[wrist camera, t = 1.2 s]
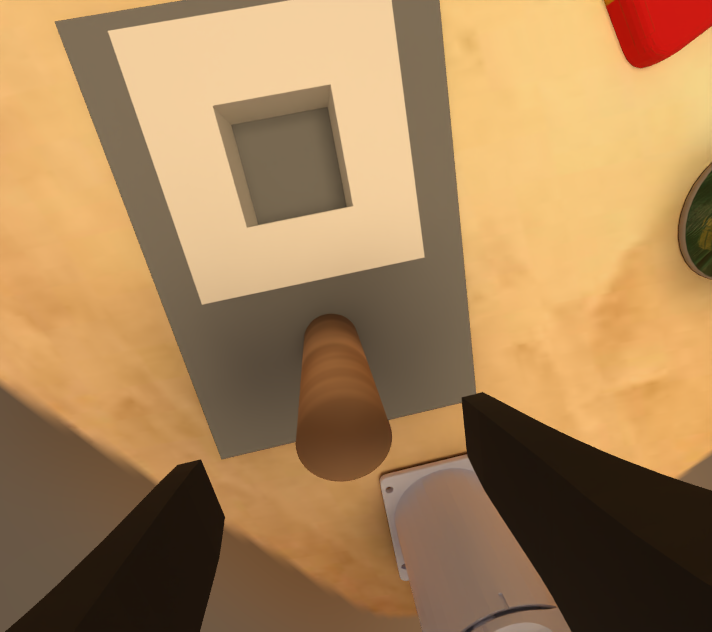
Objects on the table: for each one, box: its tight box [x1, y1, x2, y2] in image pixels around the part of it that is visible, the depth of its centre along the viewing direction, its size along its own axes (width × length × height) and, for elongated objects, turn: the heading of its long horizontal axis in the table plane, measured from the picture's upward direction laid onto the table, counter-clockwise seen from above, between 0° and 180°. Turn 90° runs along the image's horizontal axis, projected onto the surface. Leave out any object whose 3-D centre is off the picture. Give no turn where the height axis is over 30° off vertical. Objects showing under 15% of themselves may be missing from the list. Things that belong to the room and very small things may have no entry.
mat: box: [55, 0, 476, 459], centre depth 18 cm, size 22×16×1 cm
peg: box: [296, 314, 392, 481], centre depth 15 cm, size 3×3×9 cm
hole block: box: [108, 0, 425, 305], centre depth 15 cm, size 10×10×3 cm
